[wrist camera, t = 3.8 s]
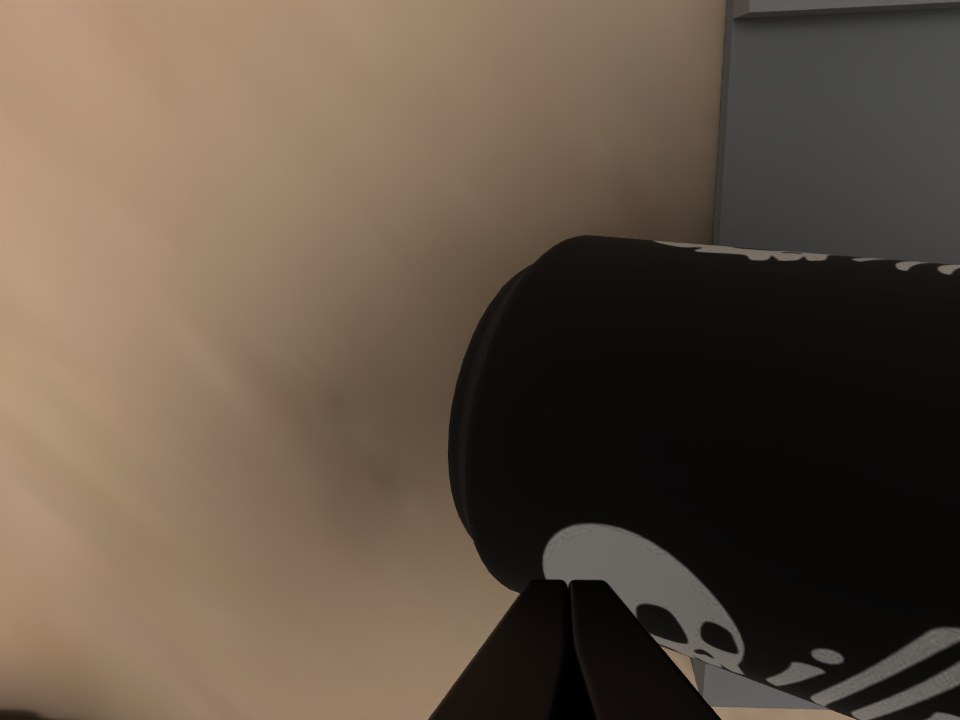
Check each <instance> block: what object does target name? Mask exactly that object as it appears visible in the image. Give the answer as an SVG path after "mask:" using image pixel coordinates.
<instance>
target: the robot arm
mask: <svg viewBox="0 0 960 720" xmlns="http://www.w3.org/2000/svg"><path fill="white" fill-rule="evenodd" d="M428 720H721V719H720V717H719V716H718V715H717V714H716V713H715V711H714V710H713V709H712V708H711V707H710V705H709V704H708V703H707V702H706V701H705V699H704V698H703V697H702V696H701V695H700V693H699V692H698V691H697V690H696V689H695V687H694V686H693V685H692V684H691V683H690V681H689V680H688V679H687V678H686V677H685V675H684V674H683V673H682V672H681V671H680V669H679V668H678V667H677V666H676V665H675V663H674V662H673V661H672V660H671V659H670V657H669V656H668V655H667V654H666V653H665V651H664V650H663V649H662V648H661V647H660V645H659V644H658V643H657V642H656V640H655V639H654V638H653V637H652V636H651V634H650V633H649V632H648V631H647V630H646V628H645V627H644V626H643V625H642V624H641V622H640V621H639V620H638V619H637V618H636V616H635V615H634V614H633V613H632V612H631V610H630V609H629V608H628V607H627V606H626V604H625V603H624V602H623V601H622V600H621V598H620V597H619V596H618V595H617V594H616V592H615V591H614V590H613V589H612V588H611V586H610V585H609V584H608V583H607V582H606V581H604V580H572V581H570V583H569V584H568V586H567V583H566V582H565V581H564V580H561V579H533V580H531V581H529V583H528V584H527V585H526V587H525V588H524V589H523V591H522V592H521V593H520V595H519V596H518V597H517V599H516V600H515V602H514V603H513V604H512V606H511V607H510V608H509V610H508V611H507V612H506V614H505V615H504V617H503V618H502V619H501V621H500V622H499V623H498V625H497V626H496V627H495V629H494V630H493V632H492V633H491V634H490V636H489V637H488V638H487V640H486V641H485V642H484V644H483V645H482V647H481V648H480V649H479V651H478V652H477V653H476V655H475V656H474V658H473V659H472V660H471V662H470V663H469V664H468V666H467V667H466V668H465V670H464V671H463V673H462V674H461V675H460V677H459V678H458V679H457V681H456V682H455V683H454V685H453V686H452V688H451V689H450V690H449V692H448V693H447V694H446V696H445V697H444V698H443V700H442V701H441V703H440V704H439V705H438V707H437V708H436V709H435V711H434V712H433V713H432V715H431V716H430V718H429V719H428Z"/></svg>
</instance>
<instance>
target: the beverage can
mask: <svg viewBox="0 0 960 720" xmlns="http://www.w3.org/2000/svg"><path fill="white" fill-rule="evenodd" d="M448 464H449V477H450V484H451V491H452V495H453V499H454V503H455V506H456V509H457V512H458V515H459V517H460V519H461V521H462V523H463V525H464V527H465V529H466V530H467V532H468V534H469V535H470V536H471V538H472V539H473V541H474V544H475V547H476V549H477V551H478V553H479V556H480V558H481V560H482V561H483V563H484V565H485V566H486V568H487V569H488V571H489V572H490V573H491V574H492V575H493V576H494V577H495V578H496V579H497V580H498V581H499V582H500V583H501V584H503V585H504V586H505V587H507V588H509V589H510V590H513V591H516V592H518V593H521V592H522V591H523V589H524V588H525V587H526V585H527V584H528V583H529V581H531V580H533V579H561V580H564V581H565V582H566V583H567V586H568V584H569V583H570V581H572V580H604V581H606V582H607V583H608V584H609V585H610V586H611V588H612V589H613V590H614V591H615V592H616V594H617V595H618V596H619V597H620V598H621V600H622V601H623V602H624V603H625V604H626V606H627V607H628V608H629V609H630V610H631V612H632V613H633V614H634V615H635V616H636V618H637V619H638V620H639V621H640V622H641V624H642V625H643V626H644V627H645V628H646V630H647V631H648V632H649V633H650V634H651V636H652V637H653V638H654V639H655V640H656V642H657V643H658V644H659V645H660V646H662V647H665V648H668V649H670V650H673V651H676V652H678V653H681V654H684V655H686V656H689V657H692V658H694V659H697V660H700V661H702V662H705V663H708V664H710V665H713V666H716V667H718V668H721V669H724V670H726V671H729V672H732V673H734V674H737V675H740V676H742V677H745V678H748V679H750V680H753V681H756V682H758V683H761V684H764V685H766V686H769V687H772V688H774V689H777V690H780V691H782V692H785V693H788V694H790V695H793V696H796V697H798V698H801V699H804V700H806V701H809V702H812V703H814V704H817V705H820V706H822V707H825V708H828V709H830V710H833V711H836V712H838V713H841V714H844V715H846V716H849V717H852V718H854V719H857V720H960V265H953V264H941V263H928V262H915V261H903V260H890V259H878V258H865V257H853V256H840V255H828V254H815V253H803V252H790V251H778V250H765V249H753V248H740V247H727V246H715V245H702V244H690V243H677V242H665V241H652V240H640V239H627V238H615V237H602V236H589V235H585V236H579V237H574V238H571V239H567V240H565V241H563V242H561V243H559V244H557V245H555V246H554V247H552V248H551V249H550V250H548V251H547V252H546V253H544V254H543V255H542V256H541V257H540V258H539V259H538V260H537V261H536V262H535V263H534V264H532V265H530V266H528V267H526V268H525V269H523V270H522V271H521V272H519V273H518V274H516V275H515V276H514V277H513V278H512V279H511V280H510V281H508V282H507V283H506V284H505V285H504V286H503V287H502V289H501V290H500V291H499V293H498V294H497V295H496V297H495V298H494V299H493V301H492V302H491V303H490V304H489V306H488V308H487V309H486V311H485V313H484V315H483V316H482V318H481V320H480V322H479V324H478V326H477V328H476V330H475V332H474V334H473V336H472V339H471V341H470V344H469V346H468V349H467V352H466V354H465V357H464V359H463V363H462V366H461V370H460V373H459V376H458V380H457V383H456V388H455V393H454V398H453V403H452V408H451V416H450V424H449V441H448Z"/></svg>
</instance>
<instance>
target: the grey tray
mask: <svg viewBox="0 0 960 720" xmlns="http://www.w3.org/2000/svg"><path fill="white" fill-rule="evenodd" d="M713 245H715V246H727V247H740V248H753V249H765V250H778V251H790V252H803V253H815V254H828V255H840V256H853V257H865V258H878V259H890V260H903V261H915V262H928V263H941V264H953V265H960V0H727V5H726V22H725V40H724V57H723V74H722V91H721V108H720V126H719V143H718V160H717V177H716V194H715V212H714V229H713ZM690 660H691V664H692V667H693V671H694V675H695V679H696V683H697V687H698V691H699V693H700V695H701V696H702V697H703V698H704V699H705V701H706V702H707V703H708V704H709V705H710V706H712V707H750V708H788V709H826V710H830V709H828V708H825V707H822V706H820V705H817V704H814V703H812V702H809V701H806V700H804V699H801V698H798V697H796V696H793V695H790V694H788V693H785V692H782V691H780V690H777V689H774V688H772V687H769V686H766V685H764V684H761V683H758V682H756V681H753V680H750V679H748V678H745V677H742V676H740V675H737V674H734V673H732V672H729V671H726V670H724V669H721V668H718V667H716V666H713V665H710V664H708V663H705V662H702V661H700V660H697V659H694V658H692V657H690Z"/></svg>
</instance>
